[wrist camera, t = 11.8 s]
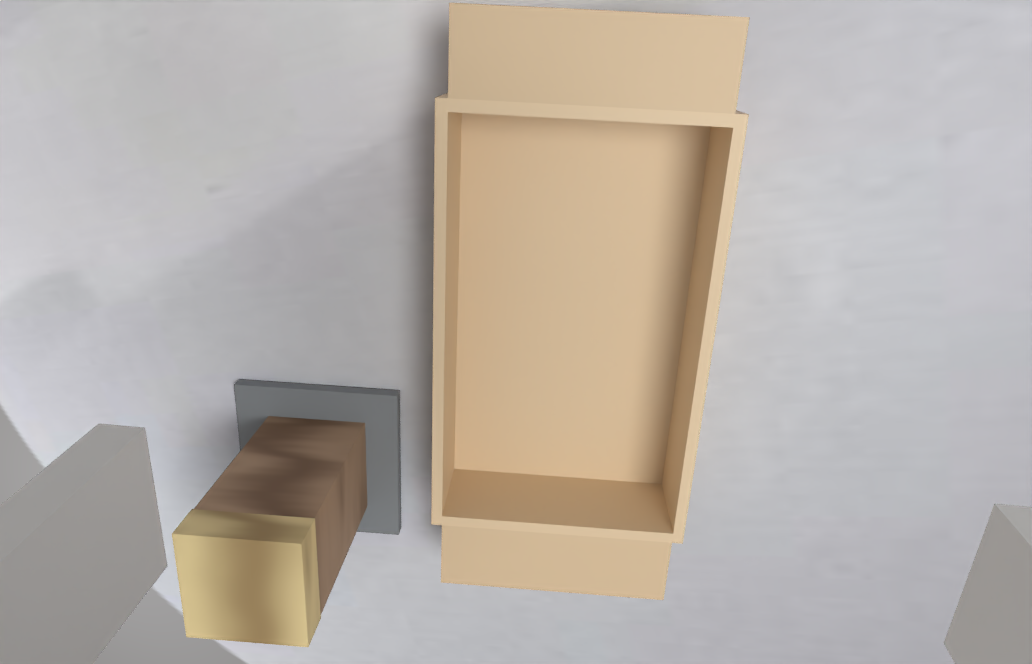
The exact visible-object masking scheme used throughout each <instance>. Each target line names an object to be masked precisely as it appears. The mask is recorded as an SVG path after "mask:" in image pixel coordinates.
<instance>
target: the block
mask: <svg viewBox="0 0 1032 664" xmlns="http://www.w3.org/2000/svg"><path fill="white" fill-rule="evenodd" d="M366 508H367V472H366V436H365V423H361V422H347V421H333V420H319V419H305V418H291V417H277V416H268V417H267V419H266V420H265V421H264V422H263V424H262V425H261V426H260V427H259V429H258V430H257V431H256V432H255V434H254V435H253V436H252V437H251V439H250V440H249V441H248V442H247V444H246V445H245V446H244V447H243V449H242V450H241V451H240V452H239V454H238V455H237V456H236V457H235V458H234V460H233V461H232V462H231V463H230V465H229V466H228V467H227V468H226V470H225V471H224V472H223V473H222V475H221V476H220V477H219V478H218V480H217V481H216V482H215V483H214V485H213V486H212V487H211V488H210V490H209V491H208V492H207V493H206V495H205V496H204V497H203V498H202V500H201V501H200V502H199V503H198V505H197V506H196V507H195V508H194V509H192V510H191V511H190V512H189V513H188V515H187V516H186V517H185V518H184V520H183V521H182V522H181V523H180V524H179V526H178V527H177V528H176V529H175V531H174V532H173V533H172V538H173V545H174V552H175V559H176V566H177V573H178V580H179V588H180V595H181V602H182V609H183V616H184V623H185V630H186V637H192V638H204V639H216V640H228V641H240V642H252V643H264V644H276V645H288V646H300V647H309V644H310V642H311V640H312V637H313V635H314V633H315V630H316V628H317V626H318V623H319V621H320V619H321V613H322V611H323V608H324V606H325V604H326V601H327V599H328V597H329V594H330V592H331V590H332V587H333V585H334V583H335V580H336V578H337V576H338V573H339V571H340V569H341V566H342V564H343V562H344V559H345V557H346V555H347V552H348V550H349V548H350V545H351V543H352V541H353V538H354V536H355V534H356V532H357V529H358V527H359V525H360V522H361V520H362V518H363V515H364V513H365V511H366Z"/></svg>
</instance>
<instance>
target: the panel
mask: <svg viewBox="0 0 1032 664" xmlns="http://www.w3.org/2000/svg"><path fill="white" fill-rule="evenodd" d="M234 391H235V401H236V411H237V421H238V432H239V442H240V451H241V450H242V449H243V447H244V446H245V445H246V444H247V442H248V441H249V440H250V439H251V437H252V436H253V435H254V434H255V432H256V431H257V430H258V429H259V427H260V426H261V425H262V424H263V422H264V421H265V420H266V419H267V417H268V416H277V417H291V418H305V419H319V420H333V421H347V422H361V423H365V436H366V472H367V508H366V511H365V513H364V515H363V518H362V520H361V522H360V525H359V527H358V529H357V532H370V533H383V534H396V535H399V532H400V529H401V461H400V390H387V389H373V388H358V387H344V386H329V385H315V384H301V383H286V382H272V381H257V380H243V379H239V380H238V381H237V382H236V383H235V384H234Z"/></svg>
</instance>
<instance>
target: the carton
mask: <svg viewBox="0 0 1032 664" xmlns="http://www.w3.org/2000/svg"><path fill="white" fill-rule="evenodd" d="M749 18H750V17H731V16H711V15H691V14H670V13H650V12H629V11H609V10H589V9H568V8H548V7H528V6H507V5H487V4H466V3H449V61H448V93H446V94H443V95H441V96H438V97H435V147H434V268H433V389H432V510H431V524H432V525H442V551H441V582H442V583H455V584H468V585H480V586H493V587H506V588H518V589H531V590H544V591H556V592H569V593H582V594H594V595H607V596H619V597H632V598H645V599H657V600H663V599H664V592H665V586H666V579H667V572H668V565H669V559H670V552H671V545H672V543H682V544H683V538H684V531H685V525H686V518H687V512H688V505H689V499H690V492H691V486H692V479H693V473H694V466H695V460H696V454H697V447H698V441H699V434H700V428H701V421H702V415H703V408H704V402H705V395H706V389H707V382H708V376H709V369H710V363H711V356H712V350H713V343H714V337H715V330H716V324H717V317H718V311H719V304H720V298H721V292H722V285H723V279H724V272H725V266H726V259H727V253H728V246H729V240H730V233H731V227H732V220H733V214H734V207H735V201H736V194H737V188H738V181H739V175H740V168H741V162H742V155H743V149H744V142H745V136H746V130H747V123H748V117H749V115H748V114H746V113H743V112H740V111H737V110H736V106H737V99H738V92H739V86H740V79H741V72H742V65H743V59H744V52H745V45H746V38H747V32H748V25H749Z"/></svg>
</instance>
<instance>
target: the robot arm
mask: <svg viewBox="0 0 1032 664" xmlns="http://www.w3.org/2000/svg"><path fill="white" fill-rule="evenodd" d="M166 567H167V560H166V554H165V548H164V542H163V536H162V529H161V523H160V517H159V511H158V505H157V499H156V493H155V486H154V480H153V474H152V468H151V462H150V456H149V449H148V443H147V437H146V431H145V428H142V427H130V426H119V425H108V424H98V425H96V426H95V427H94V428H93V429H92V430H90V431H89V432H88V433H87V434H85V435H84V436H83V437H82V438H81V439H79V440H78V441H77V442H76V443H75V444H73V445H72V446H71V447H70V448H69V449H67V450H66V451H65V452H64V453H63V454H61V455H60V456H59V457H58V458H57V459H55V460H54V461H53V462H52V463H51V464H49V465H48V466H47V467H46V468H45V469H43V470H42V471H41V472H40V473H39V474H37V475H36V476H35V477H34V478H32V479H31V480H30V481H29V482H28V483H27V484H25V485H24V486H23V487H22V488H21V489H19V490H18V491H17V492H16V493H14V494H13V495H12V496H11V497H10V498H8V499H7V500H6V501H5V502H4V503H2V504H1V505H0V664H93V663H94V662H95V661H96V659H97V658H98V656H99V655H100V654H101V653H102V651H103V650H104V649H105V647H106V646H107V645H108V643H109V642H110V641H111V639H112V638H113V637H114V636H115V634H116V633H117V631H118V630H119V629H120V628H121V626H122V625H123V624H124V622H125V621H126V620H127V618H128V617H129V616H130V615H131V613H132V612H133V611H134V609H135V608H136V607H137V605H138V604H139V603H140V601H141V600H142V599H143V597H144V596H145V595H146V594H147V592H148V591H149V590H150V588H151V587H152V586H153V584H154V583H155V582H156V580H157V579H158V578H159V576H160V575H161V574H162V573H163V571H164V570H165V569H166ZM944 645H945V647H946V648H947V650H948V652H949V653H950V655H951V657H952V659H953V660H954V662H955V664H1032V507H1025V506H1014V505H1003V504H994V507H993V509H992V512H991V515H990V518H989V520H988V523H987V526H986V529H985V531H984V534H983V537H982V540H981V542H980V545H979V548H978V550H977V553H976V556H975V559H974V561H973V564H972V567H971V570H970V572H969V575H968V578H967V581H966V583H965V586H964V589H963V592H962V594H961V597H960V600H959V603H958V605H957V608H956V611H955V613H954V616H953V619H952V622H951V624H950V627H949V630H948V633H947V635H946V638H945V641H944Z"/></svg>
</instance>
